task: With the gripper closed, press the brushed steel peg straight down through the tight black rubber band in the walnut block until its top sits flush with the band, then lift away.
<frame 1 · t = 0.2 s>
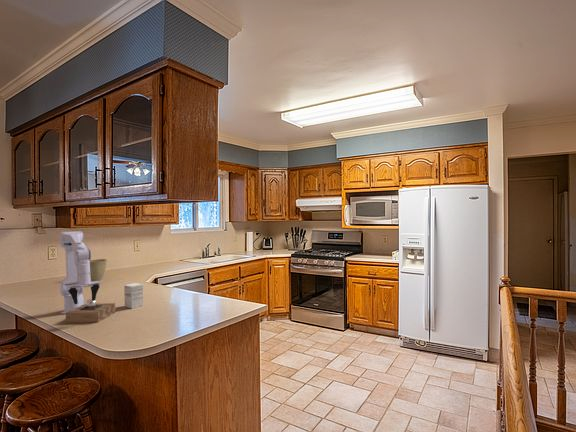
hand: (85, 302, 160), 10 cm above the countertop, tool pointing down, fingers open, 7 cm apart
walnut block: (91, 317, 170), on the countertop
plant pot: (96, 280, 269), on the countertop
supplement box: (134, 306, 189), on the countertop
steel peg: (91, 304, 170), point 6 cm above the countertop, slide at 3.5 cm
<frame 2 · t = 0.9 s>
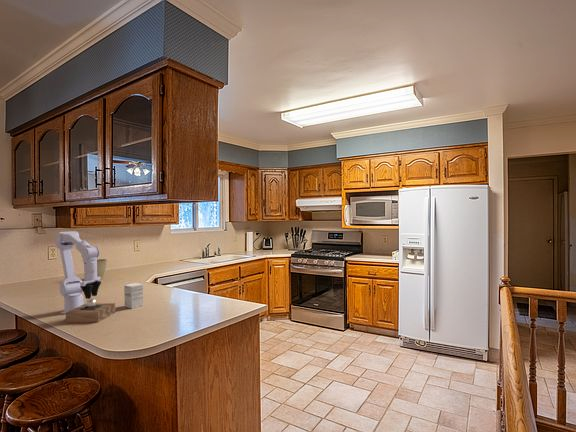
hand: (91, 297, 170), 10 cm above the countertop, tool pointing down, fingers open, 5 cm apart
nothing on the countertop moved.
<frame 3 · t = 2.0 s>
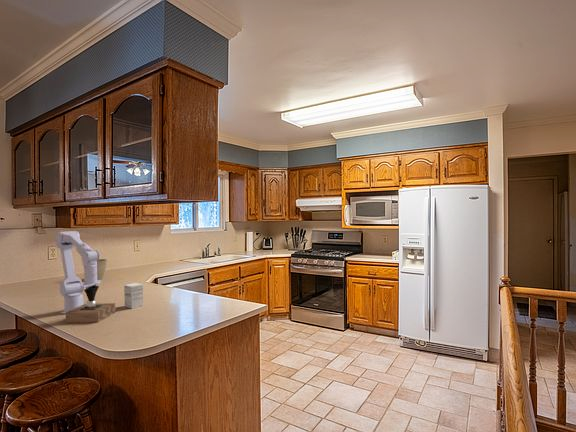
hand: (91, 300, 170), 9 cm above the countertop, tool pointing down, fingers closed, pressing on steel peg
steel peg: (91, 305, 170), point 6 cm above the countertop, slide at 3.1 cm, touching gripper
everything else where it was.
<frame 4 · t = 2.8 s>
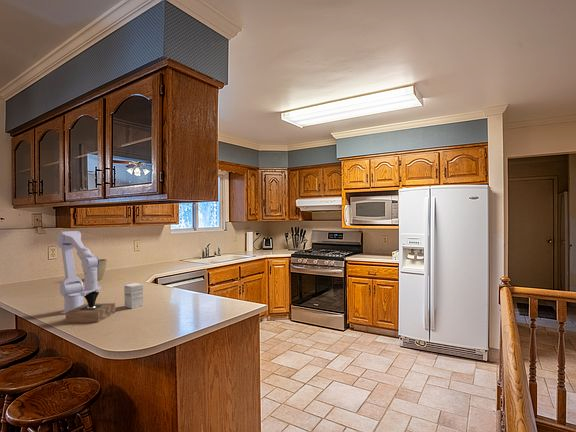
hand: (91, 306, 170), 5 cm above the countertop, tool pointing down, fingers closed, pressing on steel peg
steel peg: (91, 311, 170), point 3 cm above the countertop, slide at 0.0 cm, touching gripper
everything else where it was.
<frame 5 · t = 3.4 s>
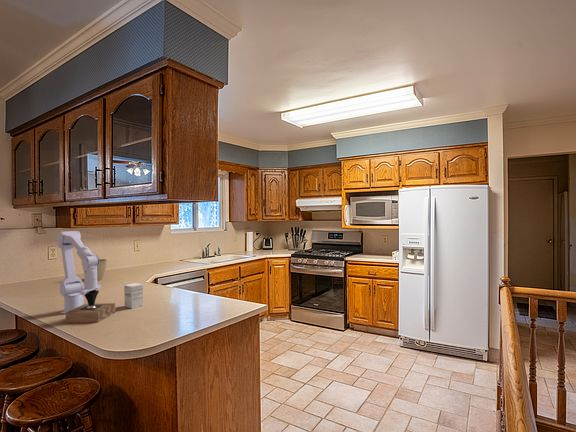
hand: (91, 305, 170), 6 cm above the countertop, tool pointing down, fingers closed
steel peg: (91, 311, 170), point 3 cm above the countertop, slide at 0.0 cm
everything else where it was.
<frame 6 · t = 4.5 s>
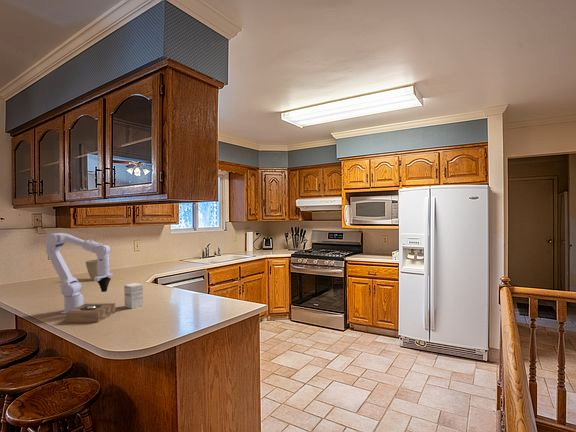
hand: (104, 291, 182), 10 cm above the countertop, tool pointing down, fingers closed
nothing on the countertop moved.
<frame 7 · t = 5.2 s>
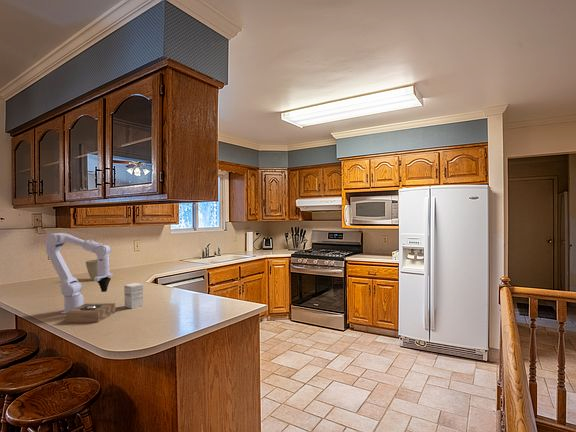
hand: (104, 291, 182), 10 cm above the countertop, tool pointing down, fingers closed
nothing on the countertop moved.
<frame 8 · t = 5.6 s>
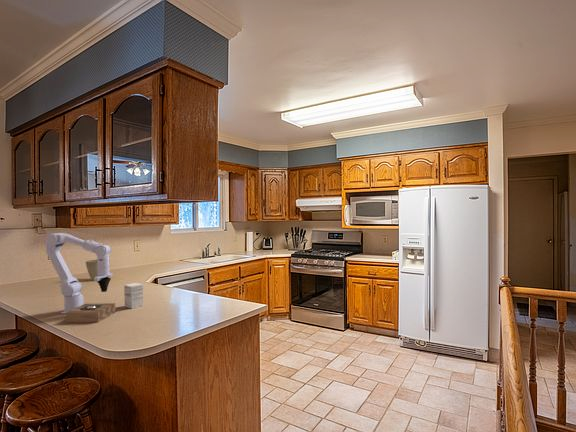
hand: (104, 291, 182), 10 cm above the countertop, tool pointing down, fingers closed
nothing on the countertop moved.
at the end: steel peg slide at 0.0 cm; supplement box moved 0.2 cm from its start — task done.
